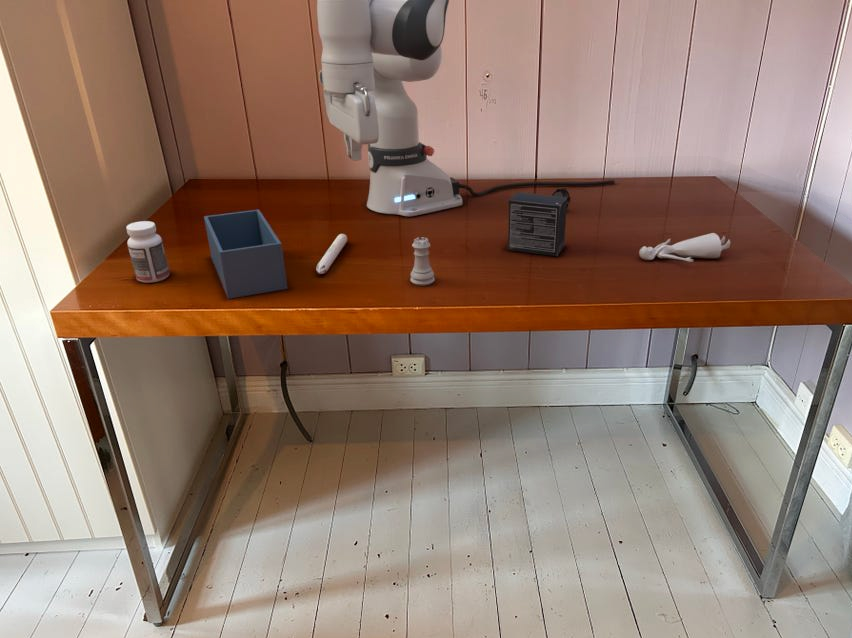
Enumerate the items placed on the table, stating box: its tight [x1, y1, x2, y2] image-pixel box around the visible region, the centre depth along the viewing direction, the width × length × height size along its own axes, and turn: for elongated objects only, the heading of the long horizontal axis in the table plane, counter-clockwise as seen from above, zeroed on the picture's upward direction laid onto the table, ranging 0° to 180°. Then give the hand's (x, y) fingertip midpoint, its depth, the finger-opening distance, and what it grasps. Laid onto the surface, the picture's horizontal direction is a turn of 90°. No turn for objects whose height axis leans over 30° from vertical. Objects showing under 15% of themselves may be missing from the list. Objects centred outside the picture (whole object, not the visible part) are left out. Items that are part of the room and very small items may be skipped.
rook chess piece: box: [409, 236, 435, 287], centre depth 129 cm, size 4×4×8 cm
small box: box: [506, 191, 568, 257], centre depth 143 cm, size 11×6×10 cm, turn 71°
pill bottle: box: [126, 220, 170, 284], centre depth 129 cm, size 6×6×10 cm
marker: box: [315, 233, 348, 275], centre depth 139 cm, size 18×2×2 cm, turn 176°
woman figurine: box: [638, 232, 731, 263], centre depth 141 cm, size 12×4×18 cm
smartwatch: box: [551, 187, 571, 208], centre depth 166 cm, size 4×5×5 cm
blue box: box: [203, 209, 288, 299], centre depth 132 cm, size 10×20×8 cm, turn 25°
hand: (354, 158), depth 133 cm, fingers closed
